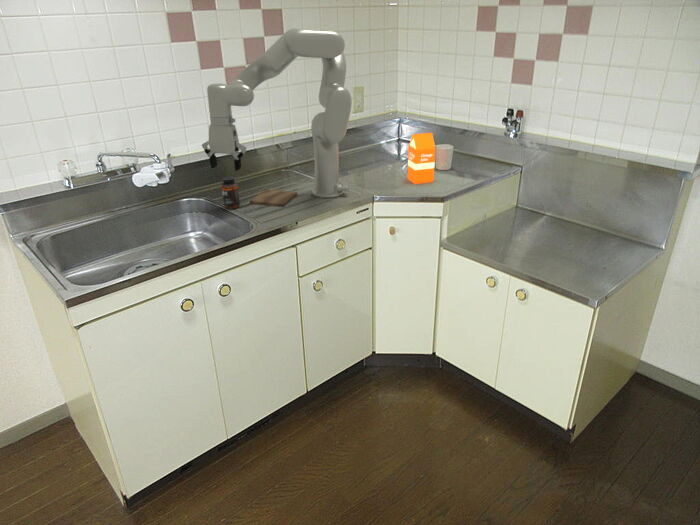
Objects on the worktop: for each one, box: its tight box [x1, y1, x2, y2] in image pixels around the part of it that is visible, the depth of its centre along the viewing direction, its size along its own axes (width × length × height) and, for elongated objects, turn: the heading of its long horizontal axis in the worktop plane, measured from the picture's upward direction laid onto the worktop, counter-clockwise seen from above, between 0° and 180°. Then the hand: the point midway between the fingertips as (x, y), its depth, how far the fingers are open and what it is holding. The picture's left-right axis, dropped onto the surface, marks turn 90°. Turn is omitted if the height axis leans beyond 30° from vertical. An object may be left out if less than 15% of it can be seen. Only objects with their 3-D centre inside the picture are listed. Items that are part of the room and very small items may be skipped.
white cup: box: [435, 143, 454, 171], centre depth 239 cm, size 8×8×10 cm
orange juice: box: [406, 132, 436, 185], centre depth 222 cm, size 8×9×20 cm
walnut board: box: [249, 188, 298, 208], centre depth 207 cm, size 14×14×1 cm
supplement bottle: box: [221, 176, 241, 210], centre depth 197 cm, size 6×6×11 cm
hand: (225, 168), depth 193 cm, fingers open, 9 cm apart
